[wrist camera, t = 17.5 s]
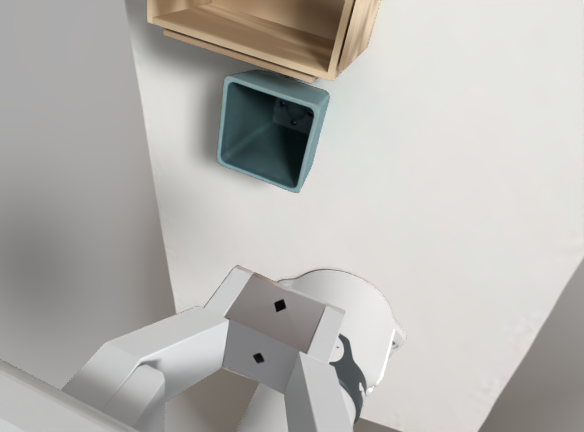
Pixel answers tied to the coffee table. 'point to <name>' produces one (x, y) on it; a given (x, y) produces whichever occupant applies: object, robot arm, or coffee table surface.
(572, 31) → the coffee table surface
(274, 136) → the flower pot
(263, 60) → the open wooden box
